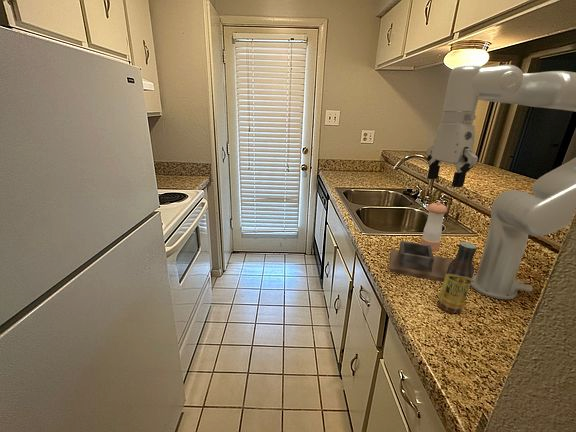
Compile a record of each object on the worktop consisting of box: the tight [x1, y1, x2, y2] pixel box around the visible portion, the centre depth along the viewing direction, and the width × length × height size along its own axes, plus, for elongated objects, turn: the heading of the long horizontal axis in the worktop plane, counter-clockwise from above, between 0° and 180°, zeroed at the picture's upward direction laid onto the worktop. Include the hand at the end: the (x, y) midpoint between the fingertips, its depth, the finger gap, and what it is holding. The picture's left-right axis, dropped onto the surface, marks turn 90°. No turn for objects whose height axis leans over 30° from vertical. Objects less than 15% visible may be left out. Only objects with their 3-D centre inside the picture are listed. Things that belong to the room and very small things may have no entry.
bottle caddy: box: [388, 240, 455, 283], centre depth 103 cm, size 22×16×6 cm
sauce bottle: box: [437, 241, 478, 314], centre depth 79 cm, size 7×6×20 cm
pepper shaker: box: [419, 201, 448, 251], centre depth 117 cm, size 7×7×19 cm
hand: (444, 182), depth 82 cm, fingers open, 9 cm apart
